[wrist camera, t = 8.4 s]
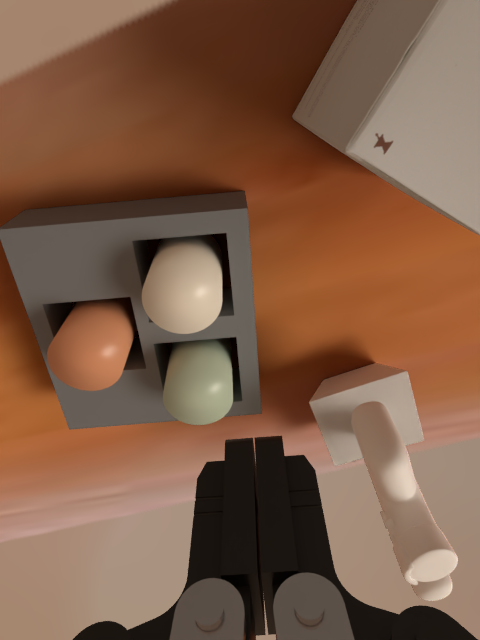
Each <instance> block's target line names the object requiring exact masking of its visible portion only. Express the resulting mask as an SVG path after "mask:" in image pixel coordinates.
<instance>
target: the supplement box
mask: <svg viewBox="0 0 480 640" xmlns="http://www.w3.org/2000/svg"><path fill="white" fill-rule="evenodd" d="M292 118H293V119H294V120H295V121H297V122H298V123H299V124H301V125H302V126H304V127H305V128H306V129H308V130H309V131H311V132H312V133H314V134H315V135H317V136H318V137H320V138H321V139H323V140H324V141H325V142H327V143H328V144H330V145H331V146H333V147H334V148H336V149H337V150H339V151H340V152H342V153H343V154H345V155H347V156H348V157H350V158H351V159H353V160H354V161H356V162H357V163H359V164H360V165H362V166H364V167H365V168H367V169H368V170H370V171H371V172H373V173H374V174H376V175H377V176H379V177H380V178H382V179H383V180H385V181H387V182H388V183H390V184H391V185H393V186H394V187H396V188H398V189H399V190H401V191H403V192H404V193H406V194H408V195H409V196H411V197H413V198H414V199H416V200H417V201H419V202H421V203H423V204H424V205H426V206H428V207H430V208H431V209H433V210H435V211H437V212H438V213H440V214H442V215H444V216H446V217H447V218H449V219H451V220H453V221H454V222H456V223H458V224H460V225H462V226H463V227H465V228H467V229H469V230H470V231H472V232H474V233H476V234H478V235H479V236H480V0H357V1H356V3H355V5H354V7H353V8H352V10H351V12H350V13H349V15H348V17H347V19H346V20H345V22H344V24H343V26H342V27H341V29H340V31H339V33H338V34H337V36H336V38H335V40H334V42H333V43H332V45H331V47H330V49H329V51H328V52H327V54H326V56H325V58H324V60H323V61H322V63H321V65H320V67H319V69H318V70H317V72H316V74H315V76H314V78H313V79H312V81H311V83H310V85H309V87H308V88H307V90H306V92H305V94H304V96H303V97H302V99H301V101H300V103H299V105H298V106H297V108H296V110H295V112H294V114H293V115H292Z"/></svg>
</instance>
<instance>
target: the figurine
mask: <svg viewBox="0 0 480 640" xmlns="http://www.w3.org/2000/svg"><path fill="white" fill-rule="evenodd" d="M309 404H310V406H311V409H312V411H313V414H314V416H315V419H316V421H317V424H318V426H319V429H320V431H321V433H322V436H323V438H324V441H325V443H326V446H327V448H328V451H329V453H330V456H331V458H332V461H333V463H334V466H338V465H341V464H345V463H348V462H352V461H355V460H359V459H362V458H364V461H365V463H366V466H367V469H368V472H369V474H370V477H371V480H372V482H373V485H374V488H375V491H376V494H377V496H378V499H379V502H380V505H381V507H382V510H383V511H381V512H380V513H381V516H382V519H383V521H384V524H385V527H386V528H387V529H388V531H389V536H390V539H391V541H392V543H393V550H394V553H395V555H396V558H397V561H398V563H399V566H400V569H401V572H402V573H403V577H404V579H405V580H406V581H407V582H408V583H410V584H411V586H412V588H413V590H414V592H415V593H416V595H417V596H418V597H420V598H421V599H423V600H427V601H436V600H440V599H443V598H444V597H447V596H448V595H449V594H450V593H451V591H452V580H451V577H450V575H449V574H450V573H451V572H452V571H453V570H454V569H455V567H456V565H457V563H458V558H457V555H456V553H455V552H454V550H453V548H452V547H451V545H450V543H449V542H448V540H447V538H446V537H445V535H444V534H443V532H442V530H441V529H440V528H439V527H437V525H436V523H435V521H434V519H433V517H432V515H431V512H430V510H429V508H428V506H427V504H426V501H425V500H424V497H423V495H422V492H421V490H420V488H419V486H418V483H417V481H416V479H415V477H414V474H413V470H412V467H411V463H410V459H409V455H408V452H407V449H406V447H405V446H407V445H410V444H414V443H417V442H420V441H424V437H423V433H422V429H421V424H420V420H419V416H418V412H417V408H416V404H415V400H414V396H413V392H412V388H411V384H410V379H409V375H408V371H406V370H402V369H398V368H394V367H390V366H386V365H382V364H379V363H374V364H371V365H367V366H364V367H361V368H358V369H355V370H352V371H349V372H346V373H343V374H340V375H337V376H333V377H330V378H327V379H324V380H323V381H322V383H321V384H320V386H319V387H318V389H317V390H316V392H315V394H314V395H313V397H312V398H311V400H310V401H309Z"/></svg>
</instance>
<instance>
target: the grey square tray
mask: <svg viewBox="0 0 480 640" xmlns="http://www.w3.org/2000/svg"><path fill="white" fill-rule="evenodd" d="M219 233H226V234H227V244H228V255H229V265H230V276H231V286H232V288H228V289H222V307H221V311H220V313H219V315H218V317H217V318H216V319H215V321H214V322H213V323H212V324H211V325H209V326H208V327H207V328H205V329H203V330H201V331H198V332H195V333H190V334H177V333H172V332H169V331H167V330H164V329H162V328H161V327H159V326H158V325H156V324H155V323H154V322H153V321H152V320H151V319H150V318H149V317H148V315H147V314H146V312H145V310H144V307H143V304H142V289H143V286H144V283H145V280H146V278H147V275H148V272H149V269H150V267H151V259H150V254H149V249H148V244H147V240H149V239H160V238H172V237H184V236H196V235H207V234H219ZM0 240H1V243H2V246H3V248H4V251H5V254H6V257H7V259H8V262H9V265H10V268H11V270H12V273H13V276H14V279H15V281H16V284H17V287H18V290H19V292H20V295H21V298H22V301H23V303H24V306H25V309H26V312H27V314H28V317H29V320H30V322H31V325H32V328H33V331H34V333H35V336H36V339H37V342H38V344H39V347H40V350H41V353H42V355H43V358H44V361H45V364H46V366H47V369H48V372H49V375H50V377H51V380H52V383H53V386H54V388H55V391H56V394H57V397H58V399H59V402H60V405H61V408H62V410H63V413H64V416H65V418H66V421H67V424H68V427H69V429H82V428H94V427H106V426H118V425H130V424H142V423H155V422H167V421H179V420H177V419H176V418H174V417H173V416H172V415H171V414H170V413H169V412H168V411H167V409H166V408H165V406H164V403H163V391H164V386H165V380H166V375H167V369H168V364H169V354H168V349H167V343H170V342H182V341H194V340H206V339H218V338H230V337H236V339H237V349H238V360H239V368H234V369H232V381H233V403H232V406H231V408H230V410H229V412H228V413H227V414H226V415H225V416H224V417H228V416H240V415H252V414H262V411H261V397H260V382H259V367H258V353H257V338H256V323H255V308H254V294H253V279H252V264H251V250H250V235H249V220H248V207H247V202H246V196H245V191H238V192H227V193H215V194H203V195H192V196H180V197H168V198H157V199H145V200H134V201H122V202H110V203H99V204H87V205H75V206H64V207H52V208H41V209H29V210H24V211H23V212H21V213H20V214H18V215H17V216H15V217H14V218H13V219H11V220H10V221H8V222H7V223H6V224H4V225H3V226H1V227H0ZM123 297H130V298H131V302H132V307H133V311H134V315H135V320H136V324H137V329H138V333H139V338H137V339H133V342H132V345H131V348H130V351H129V354H128V357H127V360H126V363H125V366H124V369H123V372H122V375H121V377H120V378H119V379H118V381H117V382H116V383H114V384H113V385H112V386H110V387H108V388H105V389H102V390H97V391H85V390H79V389H76V388H73V387H71V386H69V385H67V384H65V383H63V382H62V381H61V380H59V379H58V378H57V377H56V376H55V374H54V373H53V372H52V370H51V369H50V366H49V364H48V360H47V352H48V348H49V345H50V344H51V342H52V341H53V339H54V337H55V336H56V334H57V333H58V331H59V329H60V328H61V326H62V325H63V323H64V321H65V320H66V318H67V317H68V315H69V313H70V312H71V310H72V305H71V302H75V301H87V300H99V299H111V298H123Z"/></svg>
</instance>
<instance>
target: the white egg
mask: <svg viewBox="0 0 480 640" xmlns="http://www.w3.org/2000/svg"><path fill="white" fill-rule="evenodd" d="M142 304H143V307H144V310H145V312H146V314H147V315H148V317H149V318H150V319H151V320H152V321H153V322H154V323H155V324H156V325H158V326H159V327H161V328H162V329H164V330H167V331H169V332H172V333H177V334H190V333H195V332H198V331H201V330H203V329H205V328H207V327H208V326H209V325H211V324H212V323H213V322H214V321H215V319H216V318H217V317H218V315H219V313H220V311H221V307H222V252H221V249H220V246H219V244H218V243H217V241H216V240H215V239H214V238H213V237H212V236H211V235H210V234H207V235H196V236H184V237H172V238H162V240H161V241H160V243H159V245H158V248H157V250H156V253H155V256H154V258H153V261H152V264H151V267H150V269H149V272H148V275H147V278H146V280H145V283H144V286H143V289H142Z"/></svg>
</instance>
